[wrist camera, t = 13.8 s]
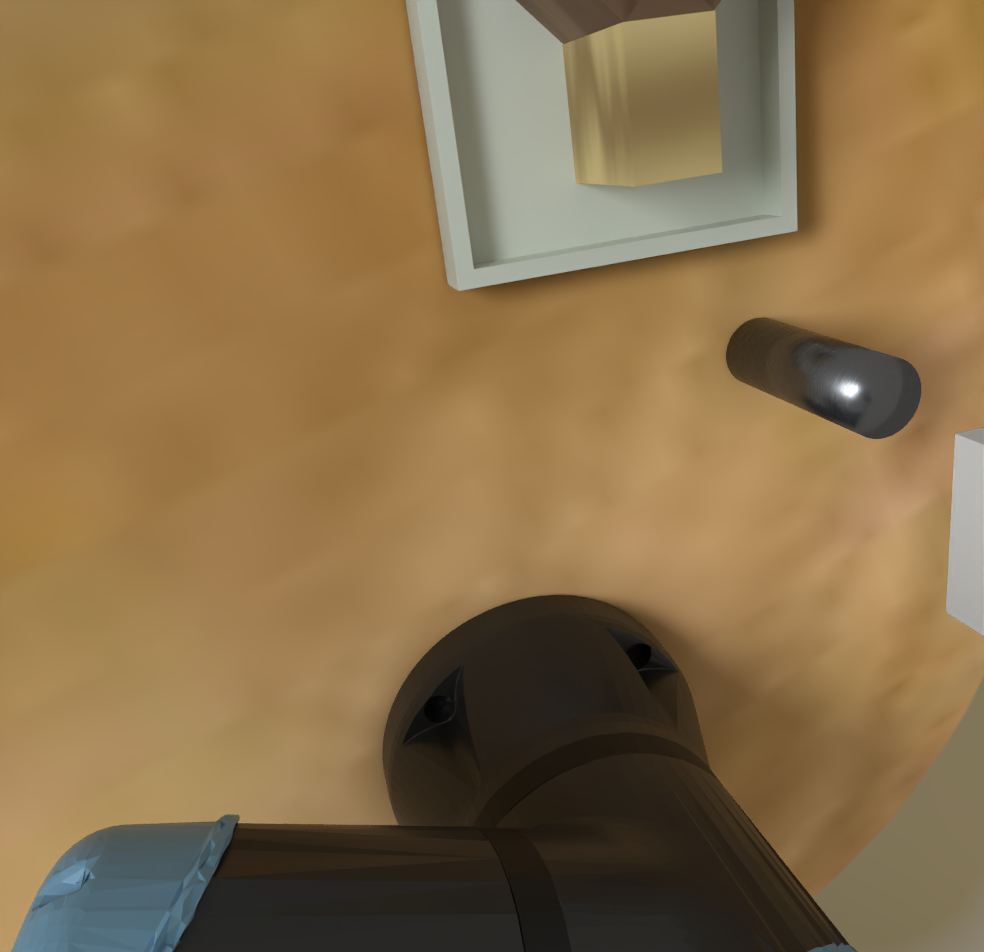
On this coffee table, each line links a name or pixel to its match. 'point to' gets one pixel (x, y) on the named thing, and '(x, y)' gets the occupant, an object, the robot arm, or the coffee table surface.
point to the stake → (826, 376)
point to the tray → (549, 154)
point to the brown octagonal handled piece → (638, 87)
